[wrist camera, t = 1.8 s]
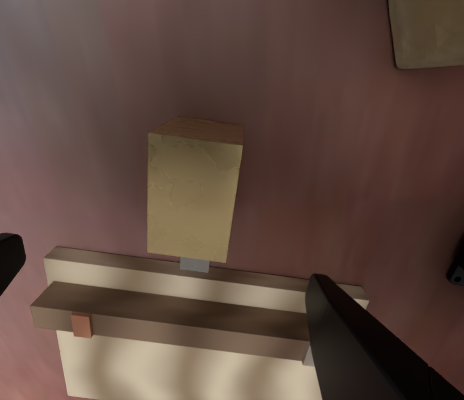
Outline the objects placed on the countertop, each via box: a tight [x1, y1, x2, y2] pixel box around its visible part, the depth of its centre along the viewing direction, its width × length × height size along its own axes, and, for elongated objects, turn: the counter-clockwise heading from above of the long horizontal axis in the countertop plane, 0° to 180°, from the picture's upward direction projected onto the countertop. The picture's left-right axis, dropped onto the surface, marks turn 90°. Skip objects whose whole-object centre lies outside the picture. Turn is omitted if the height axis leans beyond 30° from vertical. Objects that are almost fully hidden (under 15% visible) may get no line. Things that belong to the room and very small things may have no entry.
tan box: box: [147, 116, 243, 273], centre depth 16 cm, size 4×10×6 cm, turn 172°
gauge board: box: [30, 247, 369, 400], centre depth 23 cm, size 24×16×4 cm, turn 83°
